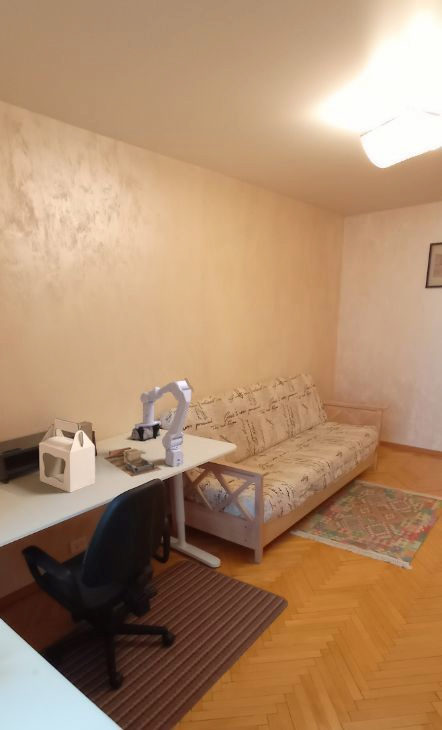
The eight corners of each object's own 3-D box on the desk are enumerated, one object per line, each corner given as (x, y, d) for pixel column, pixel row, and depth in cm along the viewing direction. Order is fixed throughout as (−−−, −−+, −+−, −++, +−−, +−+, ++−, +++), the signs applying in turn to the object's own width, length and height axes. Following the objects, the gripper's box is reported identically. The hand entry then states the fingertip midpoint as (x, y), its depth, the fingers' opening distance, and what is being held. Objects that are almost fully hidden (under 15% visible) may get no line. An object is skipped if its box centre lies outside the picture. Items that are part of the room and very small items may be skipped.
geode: (150, 432, 272) (152, 417, 270) (163, 438, 266) (165, 422, 264) (127, 438, 255) (129, 422, 253) (140, 444, 249) (142, 428, 247)
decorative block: (75, 466, 206) (74, 427, 204) (68, 464, 209) (67, 425, 207) (93, 460, 215) (92, 422, 213) (85, 458, 219) (85, 421, 216)
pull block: (145, 461, 213) (145, 450, 212) (124, 466, 205) (124, 454, 204) (129, 453, 225) (129, 442, 224) (109, 457, 217) (109, 446, 216)
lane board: (162, 471, 202) (162, 464, 202) (131, 478, 192) (131, 471, 192) (131, 454, 227) (131, 447, 226) (103, 459, 217) (103, 453, 216)
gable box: (95, 483, 186) (95, 421, 183) (70, 493, 175) (69, 427, 172) (64, 472, 198) (63, 414, 195) (39, 481, 187) (37, 419, 184)
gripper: (156, 411, 228) (156, 435, 230) (132, 414, 219) (132, 440, 221) (163, 414, 223) (163, 438, 224) (138, 417, 214) (138, 443, 215)
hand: (148, 439), depth 222 cm, fingers open, 7 cm apart
